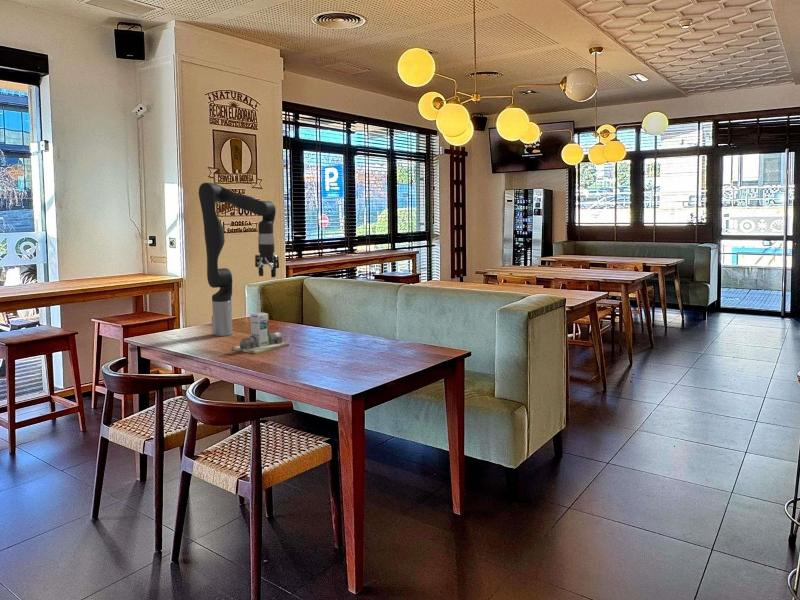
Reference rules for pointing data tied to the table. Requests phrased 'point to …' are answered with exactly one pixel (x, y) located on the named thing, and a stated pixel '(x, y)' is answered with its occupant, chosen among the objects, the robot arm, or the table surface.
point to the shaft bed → (251, 347)
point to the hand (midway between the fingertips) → (267, 276)
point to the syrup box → (260, 328)
